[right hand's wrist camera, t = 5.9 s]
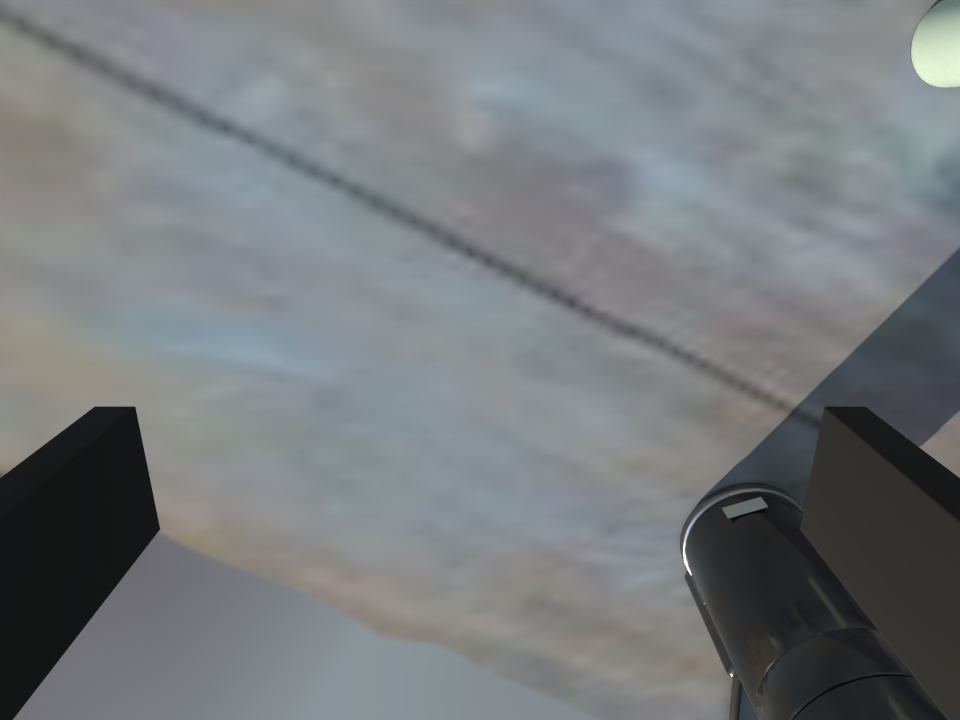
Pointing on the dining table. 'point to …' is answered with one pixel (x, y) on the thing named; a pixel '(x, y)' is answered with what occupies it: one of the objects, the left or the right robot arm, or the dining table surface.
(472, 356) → the dining table surface
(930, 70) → the bottle
